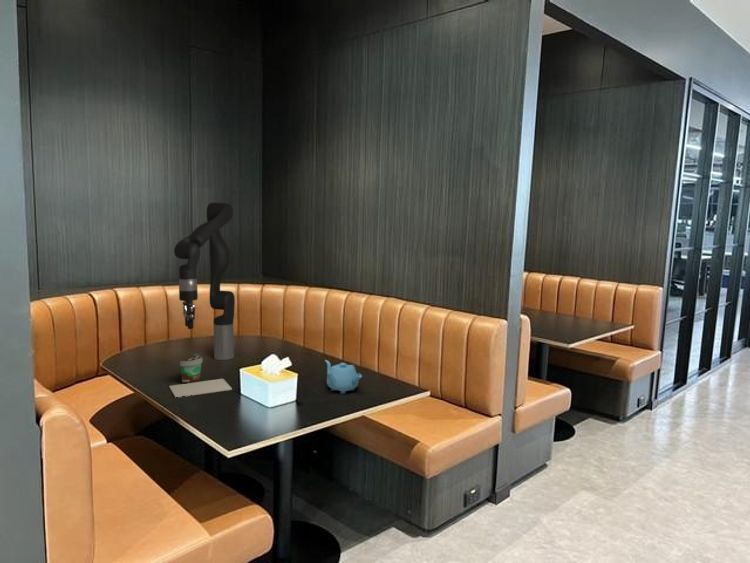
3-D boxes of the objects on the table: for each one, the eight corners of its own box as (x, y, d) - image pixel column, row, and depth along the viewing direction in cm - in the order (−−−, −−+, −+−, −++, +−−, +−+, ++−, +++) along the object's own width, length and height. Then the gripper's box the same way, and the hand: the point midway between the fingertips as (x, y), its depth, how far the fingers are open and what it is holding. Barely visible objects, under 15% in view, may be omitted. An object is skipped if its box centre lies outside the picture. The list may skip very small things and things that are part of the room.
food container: (193, 385, 226) (193, 362, 225) (180, 384, 228) (179, 361, 226) (208, 376, 238) (208, 354, 237) (195, 375, 240) (195, 353, 238)
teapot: (323, 395, 219) (323, 368, 217) (324, 384, 232) (324, 358, 231) (361, 395, 220) (361, 368, 218) (360, 384, 233) (360, 359, 232)
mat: (169, 387, 224) (169, 385, 224) (223, 379, 235) (223, 378, 235) (175, 397, 212) (175, 396, 212) (231, 389, 223) (231, 388, 223)
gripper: (200, 290, 231) (201, 330, 233) (193, 286, 243) (194, 323, 246) (182, 292, 227) (183, 331, 230) (176, 287, 240) (177, 324, 242)
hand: (189, 327), depth 238 cm, fingers open, 5 cm apart
